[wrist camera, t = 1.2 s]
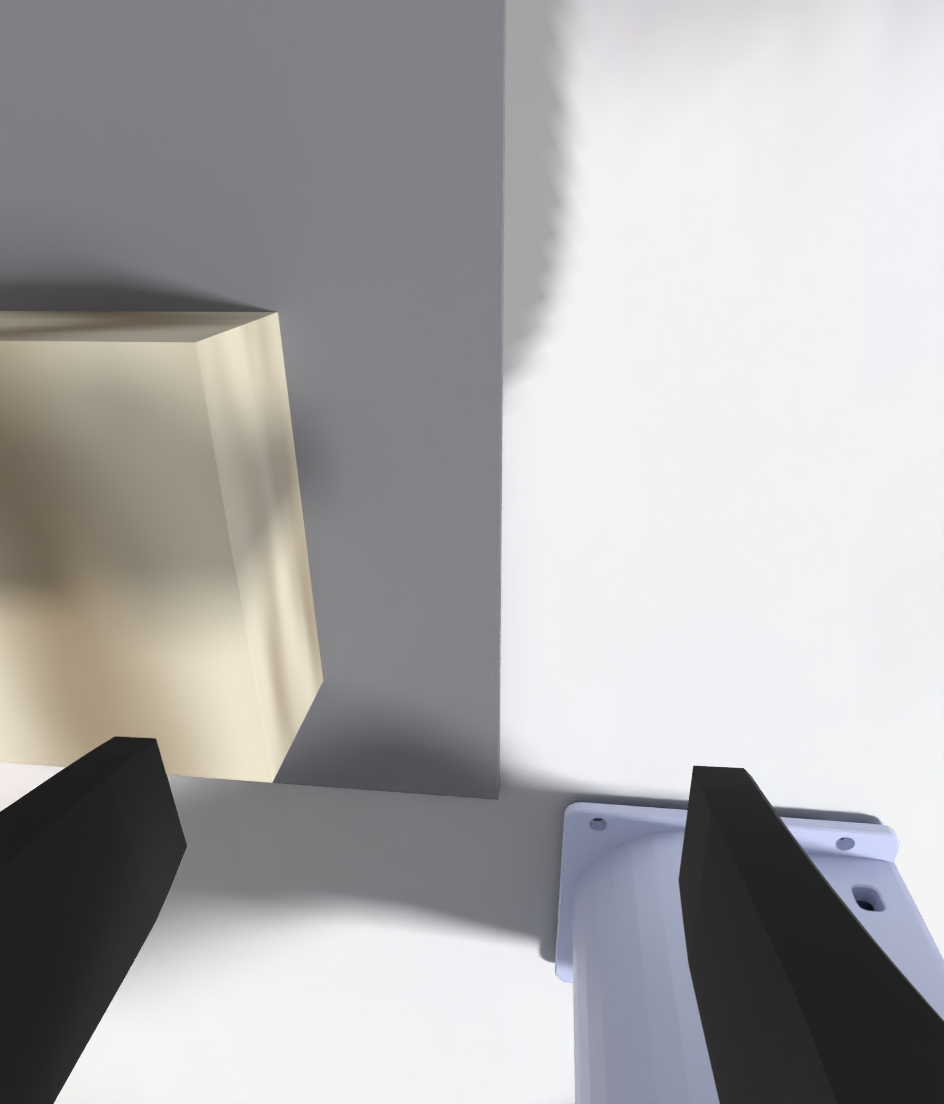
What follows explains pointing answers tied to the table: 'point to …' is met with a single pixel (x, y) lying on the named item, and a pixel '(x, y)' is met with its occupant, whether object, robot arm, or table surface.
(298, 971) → the table surface
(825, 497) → the table surface
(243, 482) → the birch block
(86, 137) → the rubber mat
